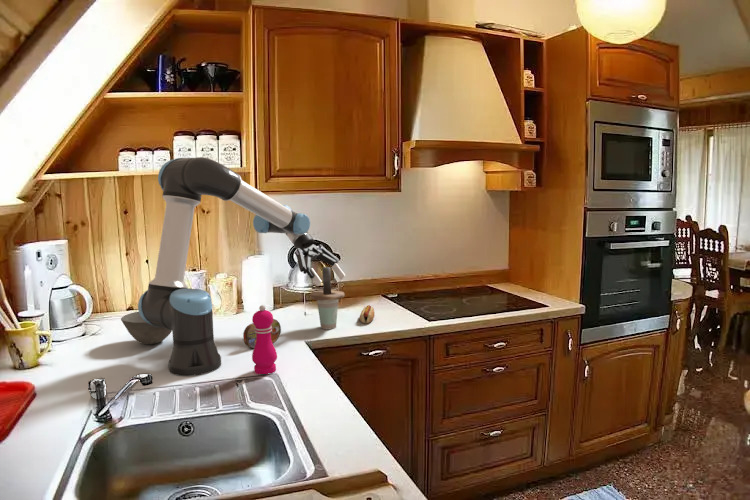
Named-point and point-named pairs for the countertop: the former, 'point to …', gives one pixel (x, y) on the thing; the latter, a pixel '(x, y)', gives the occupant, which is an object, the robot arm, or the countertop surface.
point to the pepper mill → (263, 343)
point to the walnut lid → (327, 288)
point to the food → (367, 314)
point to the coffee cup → (328, 313)
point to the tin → (251, 336)
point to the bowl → (144, 329)
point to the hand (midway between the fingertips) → (331, 280)
